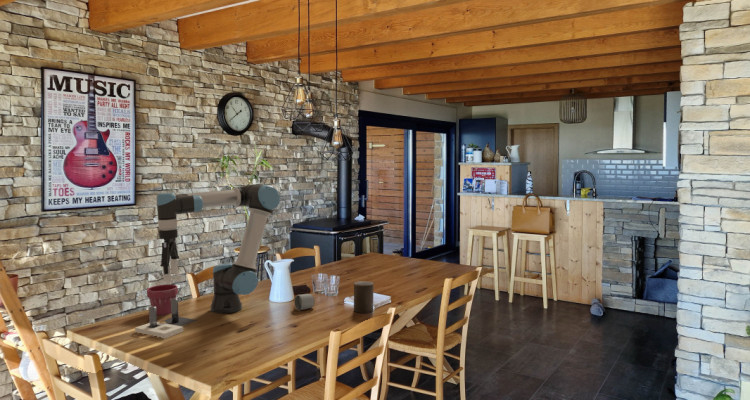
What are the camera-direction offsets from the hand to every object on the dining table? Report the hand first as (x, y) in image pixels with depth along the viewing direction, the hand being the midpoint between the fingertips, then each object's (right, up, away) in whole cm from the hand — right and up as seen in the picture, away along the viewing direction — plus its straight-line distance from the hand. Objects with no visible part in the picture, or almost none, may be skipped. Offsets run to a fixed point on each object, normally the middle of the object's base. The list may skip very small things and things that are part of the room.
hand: (171, 277), depth 229 cm
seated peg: (-8, -24, +2) cm, 26 cm away
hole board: (-5, -24, +1) cm, 25 cm away
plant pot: (-15, -22, +30) cm, 41 cm away
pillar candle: (+83, -21, +32) cm, 91 cm away
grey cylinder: (+52, -21, +36) cm, 67 cm away
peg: (-3, -23, +14) cm, 27 cm away
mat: (-3, -23, +14) cm, 27 cm away
